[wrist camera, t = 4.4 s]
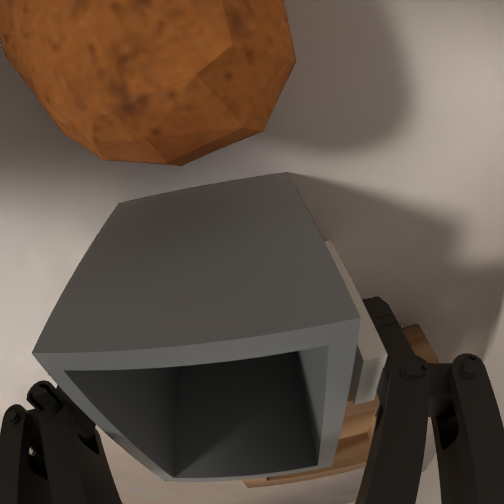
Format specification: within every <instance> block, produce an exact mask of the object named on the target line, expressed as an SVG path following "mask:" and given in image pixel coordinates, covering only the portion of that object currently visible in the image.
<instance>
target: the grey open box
mask: <svg viewBox="0 0 504 504" xmlns="http://www.w3.org/2000/svg"><path fill="white" fill-rule="evenodd" d="M360 319H361V317H360V315H359V313H358V310H357V308H356V306H355V304H354V302H353V299H352V297H351V295H350V293H349V291H348V289H347V287H346V285H345V282H344V280H343V278H342V276H341V274H340V272H339V270H338V268H337V266H336V264H335V262H334V260H333V258H332V256H331V254H330V252H329V250H328V248H327V246H326V244H325V242H324V240H323V238H322V236H321V234H320V232H319V230H318V228H317V226H316V224H315V222H314V220H313V218H312V216H311V215H310V213H309V211H308V209H307V207H306V205H305V203H304V201H303V199H302V198H301V196H300V194H299V192H298V190H297V188H296V186H295V185H294V183H293V181H292V179H291V177H290V176H289V174H288V172H286V173H279V174H272V175H265V176H258V177H252V178H246V179H239V180H233V181H227V182H221V183H216V184H210V185H204V186H199V187H194V188H188V189H183V190H178V191H173V192H168V193H163V194H158V195H153V196H149V197H144V198H140V199H135V200H131V201H126V202H122V203H119V204H118V205H117V206H116V208H115V209H114V211H113V212H112V214H111V215H110V217H109V218H108V219H107V221H106V222H105V224H104V225H103V227H102V228H101V230H100V231H99V233H98V235H97V236H96V238H95V239H94V241H93V242H92V244H91V245H90V247H89V249H88V250H87V252H86V253H85V255H84V257H83V258H82V260H81V262H80V263H79V265H78V267H77V268H76V270H75V272H74V273H73V275H72V277H71V278H70V280H69V282H68V284H67V285H66V287H65V289H64V291H63V293H62V294H61V296H60V298H59V300H58V302H57V304H56V305H55V307H54V309H53V311H52V313H51V315H50V317H49V319H48V321H47V323H46V325H45V327H44V329H43V331H42V333H41V335H40V337H39V339H38V341H37V343H36V345H35V347H34V349H33V352H32V354H33V356H34V357H35V358H36V359H37V361H38V362H39V363H40V364H41V365H42V367H43V368H44V369H45V370H46V372H47V373H48V374H49V375H50V376H51V377H52V379H53V380H54V381H55V382H56V383H57V384H58V385H59V387H60V388H61V389H62V390H63V391H64V392H65V393H66V394H67V395H68V396H69V397H70V399H71V400H72V401H73V402H74V403H75V404H76V405H77V406H78V407H79V408H80V409H81V410H82V411H83V412H84V413H85V414H86V415H87V416H88V417H89V418H90V419H91V420H92V421H93V422H94V423H95V424H96V425H97V426H98V427H100V428H101V429H102V430H103V431H104V432H105V433H106V434H107V435H108V436H109V437H110V438H112V439H113V440H114V441H115V442H116V443H117V444H118V445H120V446H121V447H122V448H123V449H124V450H125V451H127V452H128V453H129V454H130V455H131V456H133V457H134V458H135V459H136V460H138V461H139V462H140V463H141V464H143V465H144V466H145V467H147V468H148V469H149V470H150V471H152V472H153V473H154V474H156V475H157V476H159V477H160V478H161V479H163V480H164V481H173V482H209V481H231V480H245V479H256V478H265V477H273V476H281V475H288V474H294V473H300V472H306V471H312V470H317V469H322V468H327V467H331V466H332V464H333V460H334V456H335V453H336V449H337V445H338V440H339V436H340V432H341V428H342V423H343V419H344V414H345V409H346V404H347V399H348V394H349V389H350V384H351V378H352V373H353V367H354V361H355V355H356V348H357V341H358V334H359V327H360Z"/></svg>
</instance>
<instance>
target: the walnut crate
mask: <svg viewBox="0 0 504 504" xmlns="http://www.w3.org/2000/svg"><path fill="white" fill-rule="evenodd" d="M402 331H403V333H404V334H405V336H406V338H407V340H408V342H409V344H410V346H411V348H412V350H413V351H414V353H415V354H416V355H417V356H420V357H421V358H423V359H424V360H426V362H428V363H434V364H440V362H439V360H438V358H437V357H436V355H435V353H434V351H433V349H432V347H431V346H430V344H429V342H428V340H427V339H426V337H425V335H424V333H423V332H422V330H421V328H420V326H419V325H415V326H412V327H408V328H404V329H402ZM379 404H380V401H379V398H378V395H377V393H376V395H375V398H374V400H372V401H369V402H365V403H361V404H357V405H354V403H353V400H352V397H351V394H350V390H349V394H348V399H347V404H346V409H345V414H344V419H343V423H342V428H341V432H340V436H339V440H338V445H337V449H336V453H335V456H334V460H333V464H332V466H331V467H327V468H322V469H317V470H312V471H306V472H300V473H294V474H288V475H281V476H273V477H265V478H256V479H245V480H242V481H243V482H244V484H245V485H246V486H247V488H253V487H263V486H272V485H280V484H287V483H294V482H300V481H306V480H311V479H316V478H321V477H326V476H331V475H336V474H340V473H344V472H348V471H352V470H356V469H360V468H364V467H366V463H367V459H368V455H369V450H370V446H371V442H372V437H373V432H374V427H375V422H376V417H375V415H376V412H377V409H378V407H379Z"/></svg>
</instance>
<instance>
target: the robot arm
mask: <svg viewBox="0 0 504 504" xmlns="http://www.w3.org/2000/svg"><path fill="white" fill-rule="evenodd" d="M324 242H325V244H326V246H327V248H328V250H329V252H330V254H331V256H332V258H333V260H334V262H335V264H336V266H337V268H338V270H339V272H340V274H341V276H342V278H343V280H344V282H345V285H346V287H347V289H348V291H349V293H350V295H351V297H352V299H353V302H354V304H355V306H356V308H357V310H358V313H359V315H360V317H361V319H360V327H359V334H358V341H357V348H356V355H355V361H354V367H353V373H352V378H351V384H350V389H349V390H350V394H351V397H352V400H353V403H354V405H357V404H361V403H365V402H369V401H372V400H374V398H375V395H376V393H377V395H378V398H379V401H380V404H379V407H378V409H377V412H376V415H375V417H376V422H375V427H374V432H373V437H372V442H371V446H370V450H369V455H368V459H367V463H366V467H365V471H364V475H363V478H362V482H361V486H360V489H359V493H358V496H357V500H356V503H355V504H415V502H416V497H417V492H418V486H419V482H420V476H421V470H422V464H423V457H424V450H425V442H426V433H427V422H428V417H431V420H432V426H433V432H434V438H435V445H436V452H437V460H438V469H439V478H440V488H441V502H442V504H504V428H503V423H502V420H501V416H500V413H499V409H498V405H497V402H496V399H495V395H494V392H493V389H492V386H491V383H490V380H489V377H488V374H487V371H486V368H485V366H484V364H483V362H482V360H481V359H479V358H478V357H477V356H475V355H473V354H465V353H464V354H461V355H458V356H457V357H456V358H455V359H454V360H453V362H452V363H444V364H434V363H428V362H426V360H424V359H423V358H421V357H420V356H417V355H416V354H415V353H414V351H413V350H412V348H411V346H410V344H409V342H408V340H407V338H406V336H405V334H404V333H403V331H402V329H401V327H400V325H399V324H398V321H397V320H396V318H395V316H394V315H393V312H392V310H391V309H390V307H389V305H388V304H387V303H386V302H385V301H383V300H382V299H381V298H380V297H378V296H377V297H373V298H368V299H363V300H362V299H361V297H360V295H359V293H358V291H357V289H356V287H355V285H354V283H353V282H352V280H351V278H350V276H349V274H348V272H347V270H346V268H345V266H344V264H343V262H342V260H341V258H340V256H339V255H338V253H337V251H336V249H335V247H334V245H333V243H332V241H331V240H328V241H324ZM26 400H27V401H28V402H29V403H30V404H31V405H32V406H33V407H34V408H35V409H32V410H28V411H27V410H26V409H25V408H23V407H22V406H21V405H19V404H15V405H12V406H11V407H9V408H8V409H7V411H6V412H5V414H4V417H3V422H2V427H1V433H0V504H122V502H121V500H120V497H119V494H118V492H117V489H116V486H115V483H114V480H113V477H112V474H111V471H110V468H109V465H108V462H107V459H106V455H105V452H104V449H103V445H102V442H101V438H100V435H99V433H98V431H97V430H96V429H95V426H96V424H95V423H94V422H93V421H92V420H91V419H90V418H89V417H88V416H87V415H86V414H85V413H84V412H83V411H82V410H81V409H80V408H79V407H78V406H77V405H76V404H75V403H74V402H73V401H72V400H71V399H70V397H69V396H68V395H67V394H66V393H65V392H64V391H63V390H62V389H61V388H60V387H59V385H57V388H55V387H54V386H53V385H52V384H51V383H50V382H49V381H45V380H44V381H39V382H37V383H36V384H34V385H33V386H32V387H31V388H30V390H29V392H28V394H27V399H26ZM29 448H31V449H32V450H33V453H32V455H30V454H29Z"/></svg>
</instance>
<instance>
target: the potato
mask: <svg viewBox="0 0 504 504" xmlns="http://www.w3.org/2000/svg"><path fill="white" fill-rule="evenodd" d="M0 40H1V43H2V46H3V49H4V52H5V54H6V57H7V58H8V60H9V61H10V62H11V64H12V65H13V66H14V68H15V69H16V71H17V72H18V73H19V75H20V76H21V77H22V79H23V80H24V81H25V83H26V84H27V85H28V87H29V88H30V89H31V90H32V92H33V93H34V94H35V96H36V97H37V99H38V100H39V101H40V103H41V104H42V105H43V107H44V108H45V110H46V111H47V112H48V114H49V115H50V116H51V118H52V119H53V120H54V122H55V123H56V124H57V125H58V127H59V128H60V129H61V131H62V132H63V133H64V134H65V135H67V136H68V137H70V138H71V139H73V140H74V141H76V142H77V143H79V144H80V145H82V146H83V147H85V148H86V149H88V150H89V151H91V152H92V153H94V154H95V155H97V156H99V157H100V158H102V159H103V160H112V161H128V162H142V163H155V164H166V165H177V166H182V165H184V164H186V163H188V162H191V161H193V160H195V159H197V158H200V157H202V156H204V155H206V154H209V153H211V152H213V151H216V150H218V149H220V148H223V147H225V146H227V145H230V144H232V143H235V142H237V141H240V140H242V139H245V138H247V137H250V136H252V135H255V134H257V133H260V132H263V130H264V128H265V125H266V123H267V121H268V119H269V117H270V115H271V112H272V110H273V108H274V106H275V104H276V102H277V100H278V98H279V96H280V93H281V91H282V89H283V87H284V85H285V83H286V81H287V79H288V77H289V75H290V73H291V71H292V68H293V66H294V64H295V62H296V59H295V53H294V48H293V43H292V38H291V33H290V28H289V24H288V19H287V14H286V10H285V5H284V2H283V0H0Z"/></svg>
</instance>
